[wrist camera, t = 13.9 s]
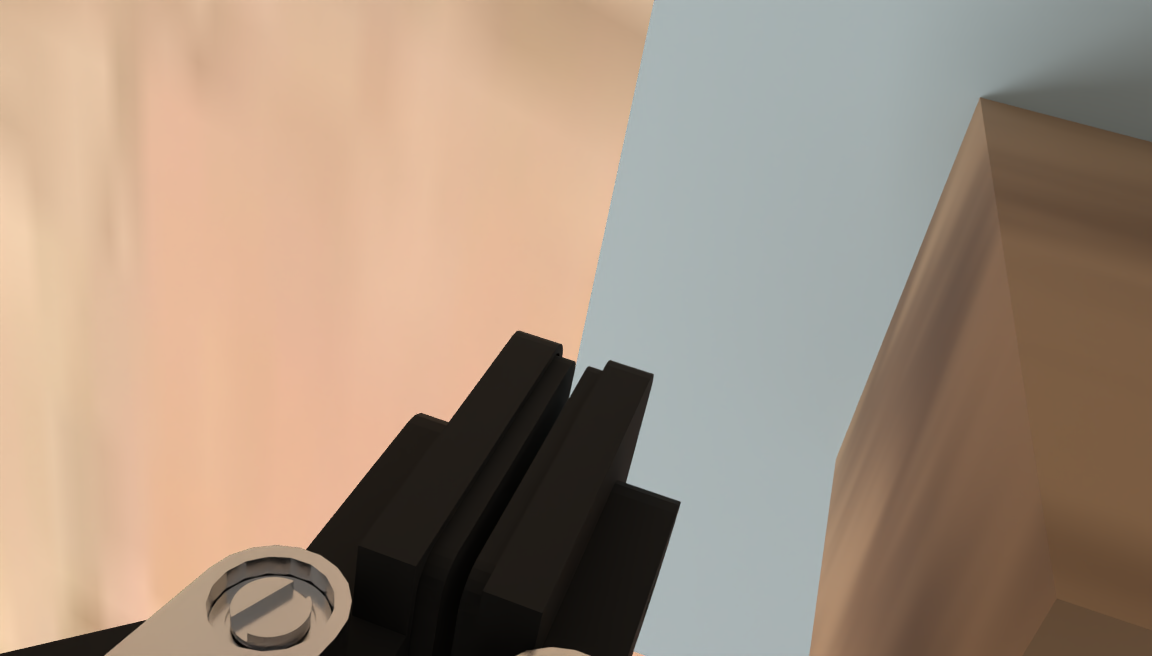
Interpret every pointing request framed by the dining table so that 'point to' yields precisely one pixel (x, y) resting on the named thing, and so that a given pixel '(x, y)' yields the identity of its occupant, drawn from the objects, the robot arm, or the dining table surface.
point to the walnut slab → (1007, 414)
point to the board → (799, 255)
